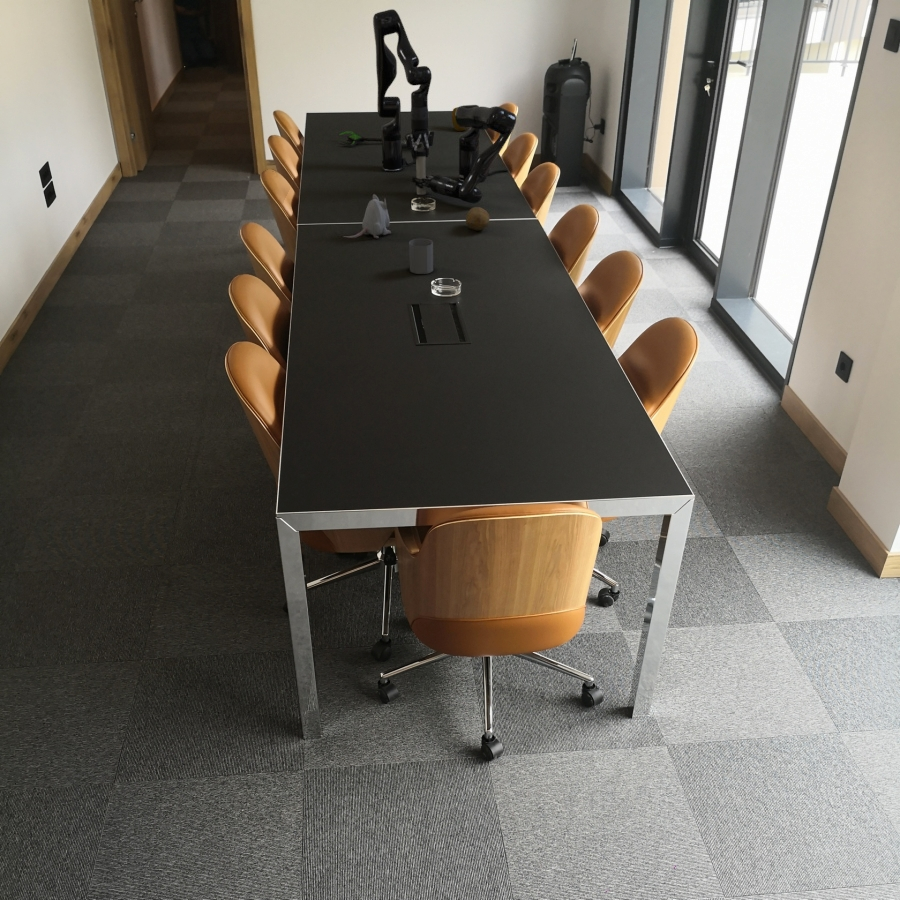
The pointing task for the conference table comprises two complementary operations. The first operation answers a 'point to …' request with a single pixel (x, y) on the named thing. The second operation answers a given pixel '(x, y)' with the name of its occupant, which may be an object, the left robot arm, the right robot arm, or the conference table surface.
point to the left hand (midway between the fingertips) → (420, 157)
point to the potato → (477, 218)
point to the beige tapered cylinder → (421, 172)
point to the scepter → (357, 139)
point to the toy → (375, 219)
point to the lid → (421, 152)
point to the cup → (421, 256)
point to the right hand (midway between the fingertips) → (417, 178)
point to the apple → (456, 122)
